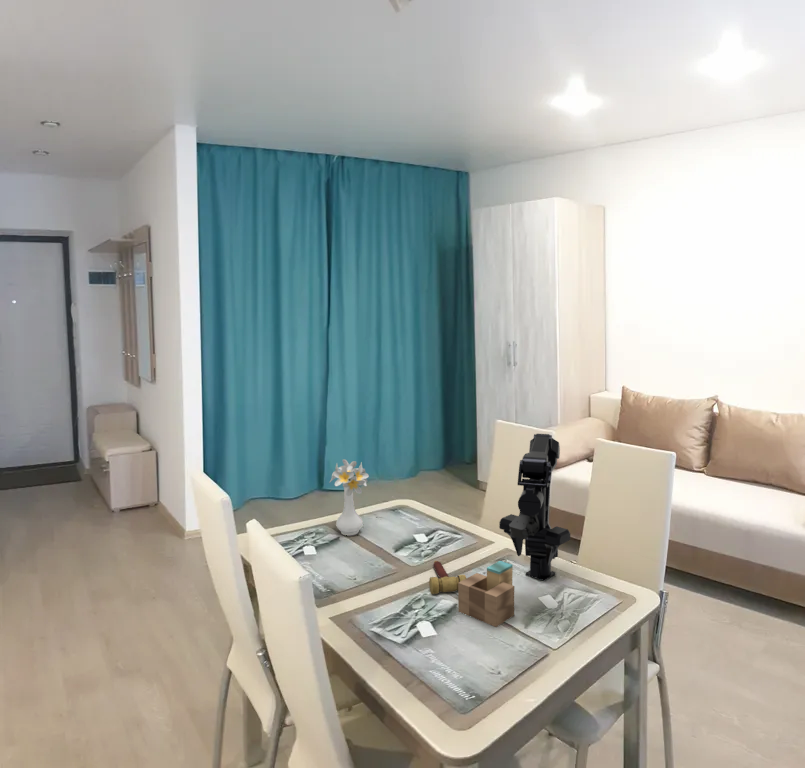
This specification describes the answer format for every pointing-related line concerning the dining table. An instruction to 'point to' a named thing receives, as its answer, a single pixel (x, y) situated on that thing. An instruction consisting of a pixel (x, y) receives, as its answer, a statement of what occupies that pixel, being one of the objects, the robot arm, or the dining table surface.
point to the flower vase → (349, 496)
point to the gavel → (443, 580)
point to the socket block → (485, 600)
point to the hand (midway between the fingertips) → (533, 560)
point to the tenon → (499, 574)
